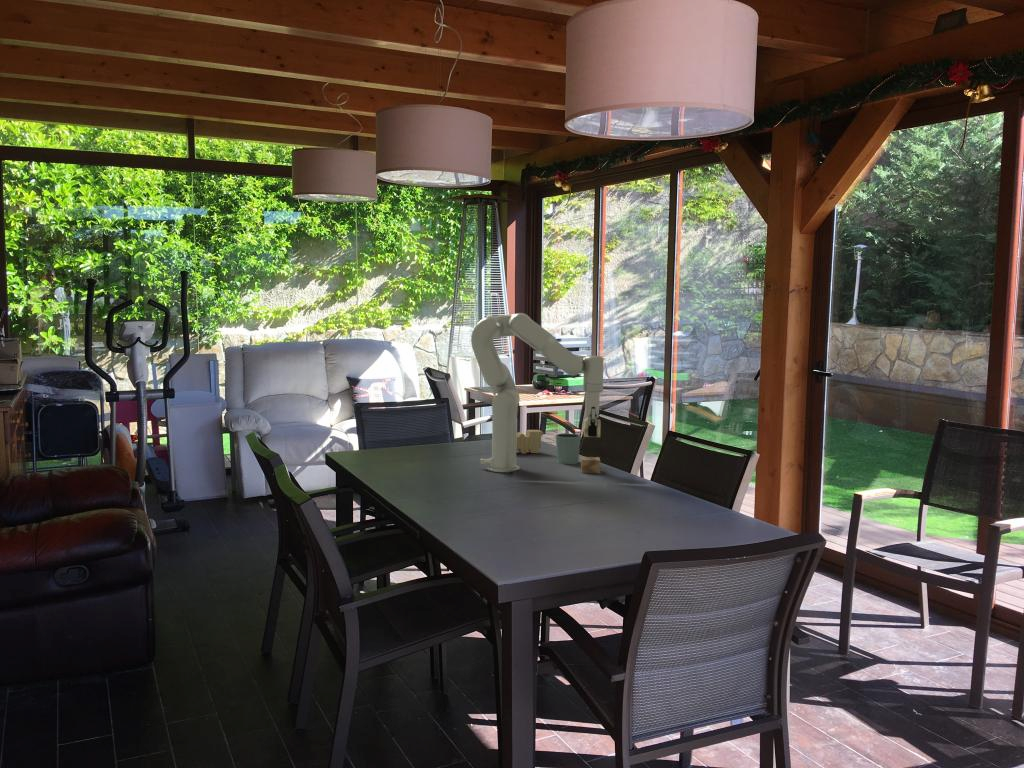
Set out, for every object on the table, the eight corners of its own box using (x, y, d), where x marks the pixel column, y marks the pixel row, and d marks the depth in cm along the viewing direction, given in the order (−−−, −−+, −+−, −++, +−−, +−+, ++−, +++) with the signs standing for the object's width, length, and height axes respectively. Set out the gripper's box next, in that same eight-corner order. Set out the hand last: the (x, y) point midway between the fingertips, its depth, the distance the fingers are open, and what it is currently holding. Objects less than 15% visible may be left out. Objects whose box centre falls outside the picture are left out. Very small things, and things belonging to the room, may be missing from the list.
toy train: (502, 452, 382) (502, 429, 381) (539, 451, 386) (540, 429, 385) (505, 454, 376) (505, 431, 375) (543, 453, 381) (543, 431, 380)
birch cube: (584, 436, 333) (584, 421, 332) (583, 434, 339) (584, 419, 338) (600, 437, 333) (600, 421, 332) (599, 435, 339) (599, 419, 338)
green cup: (584, 465, 355) (585, 436, 354) (565, 467, 349) (565, 437, 348) (569, 461, 363) (570, 432, 362) (549, 463, 358) (550, 434, 357)
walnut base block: (581, 472, 334) (581, 459, 333) (580, 469, 341) (581, 456, 340) (599, 473, 333) (600, 460, 333) (598, 470, 340) (599, 457, 340)
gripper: (582, 385, 343) (581, 431, 345) (584, 390, 326) (582, 438, 327) (601, 386, 343) (600, 432, 344) (604, 390, 325) (603, 438, 327)
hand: (592, 434), depth 336 cm, fingers closed on birch cube, 6 cm apart
